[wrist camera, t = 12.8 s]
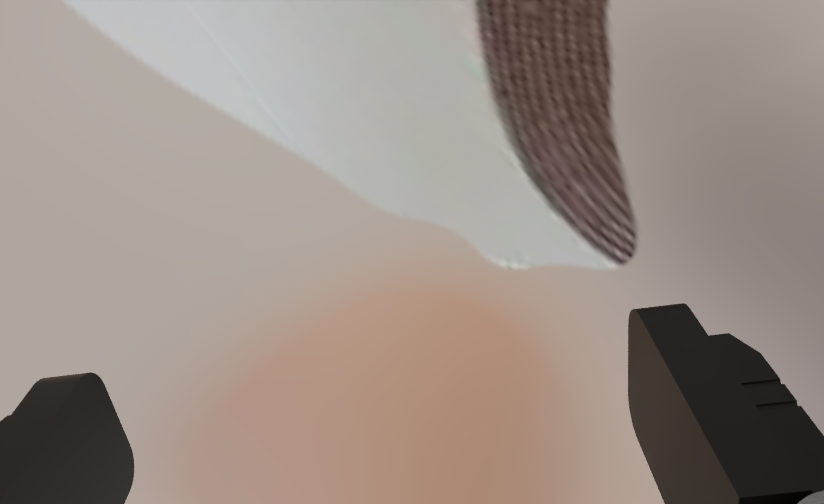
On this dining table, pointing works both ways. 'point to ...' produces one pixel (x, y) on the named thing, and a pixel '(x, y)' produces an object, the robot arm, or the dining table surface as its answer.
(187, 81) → the dining table surface
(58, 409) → the robot arm
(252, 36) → the dining table surface
